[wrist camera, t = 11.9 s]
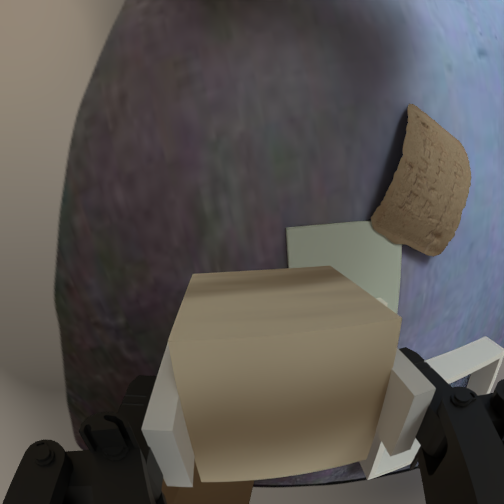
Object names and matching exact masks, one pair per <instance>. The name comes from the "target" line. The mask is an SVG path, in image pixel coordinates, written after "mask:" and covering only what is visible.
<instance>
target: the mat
mask: <svg viewBox="0 0 504 504" xmlns="http://www.w3.org/2000/svg"><path fill="white" fill-rule="evenodd" d="M286 240H287V256H288V268H302V267H316V266H331V267H333V268H334V269H336V270H337V271H338V272H340V273H341V274H343V275H344V276H345V277H347V278H348V279H350V280H351V281H352V282H354V283H355V284H357V285H358V286H359V287H361V288H362V289H363V290H365V291H366V292H368V293H369V294H370V295H372V296H373V297H374V298H382V299H383V300H384V301H385V302H387V303H388V304H387V307H388V308H389V309H391V310H392V311H393V312H395V313H396V314H397V311H398V301H399V289H400V276H401V256H402V244H395V243H392V242H391V241H390V240H388V239H387V238H386V237H385V236H384V235H382V234H380V233H378V232H377V231H375V230H374V229H373V226H372V221H371V220H368V221H355V222H343V223H331V224H320V225H308V226H297V227H287V228H286Z"/></svg>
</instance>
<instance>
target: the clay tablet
mask: <svg viewBox="0 0 504 504" xmlns="http://www.w3.org/2000/svg"><path fill="white" fill-rule="evenodd" d="M407 112H408V124H407V127H406V131H407V133H406V136H405V140H404V144H403V149H402V151H403V157H402V158H401V159H400V162H399V166H398V170H397V171H396V172H395V173H394V177H393V181H392V183H391V184H390V186H389V189H388V191H387V192H386V196H385V197H384V200H383V201H382V202H381V205H380V206H379V207H377V209H376V212H374V214H373V216H372V217H371V221H372V226H373V229H374V230H375V231H377V232H378V233H380V234H382V235H384V236H385V237H386V238H387V239H388V240H390V241H391V242H392V243H395V244H406V245H408V246H410V247H412V248H414V249H416V250H418V251H420V252H422V253H424V254H426V255H428V256H436V255H439V254H441V252H442V251H444V249H445V248H446V246H447V245H448V242H449V241H451V239H452V238H453V237H454V235H455V231H456V230H457V228H458V226H459V223H460V219H461V214H462V210H463V209H464V208H465V206H466V199H467V197H468V193H469V187H470V186H471V182H470V181H471V171H470V166H469V160H468V157H467V153H466V152H465V149H464V147H463V146H462V144H461V143H460V142H459V140H457V139H456V138H454V137H453V136H452V135H451V134H450V133H449V132H447V131H446V130H445V129H443V128H442V127H441V126H440V125H439V124H438V123H437V122H436V121H435V120H433V119H431V118H430V117H429V116H428V115H427V114H426V113H424V112H423V111H421V110H420V109H419V108H418V107H417V106H415V105H413V104H409V105H408V110H407Z"/></svg>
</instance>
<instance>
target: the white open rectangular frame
mask: <svg viewBox="0 0 504 504" xmlns="http://www.w3.org/2000/svg"><path fill="white" fill-rule="evenodd" d="M503 357H504V349H503V348H502V347H500V346H499V345H498V344H496V343H495V342H493V341H492V340H490V339H489V338H488V337H486V336H485V337H483V338H481V339H479V340H476V341H474V342H472V343H469V344H467V345H465V346H462V347H460V348H457V349H455V350H452V351H450V352H447V353H444V354H442V355H439V356H436V357H434V358H431V359H428V360H425V361H424V362H427V363H428V364H429V365H430V367H431V368H433V369H434V370H435V371H436V372H437V373H438V374H439V375H440V376H441V377H442V378H443V379H444V380H445V381H446V382H447V383H448V384H450V383H452V382H454V381H456V380H458V379H460V378H463V377H465V376H467V375H469V374H471V376H470V379H469V382H468V384H467V387H466V388H469V389H470V390H472V391H474V392H475V393H476V394H477V395H484V394H489V393H490V391H491V388H492V386H493V384H494V381H495V379H496V376H497V373H498V371H499V368H500V365H501V362H502V359H503ZM420 446H421V445H420V444H419V442H418V441H417V439H416V438H415V440H414V442H413V445H412V447H411V449H410V450H408V451H405V452H402V453H400V454H397V455H394V456H391V457H390V455H389V454H388V452H387V450H386V448H385V447H384V445H383V443H382V441H381V440H380V438H379V436H378V434H377V433H375V436H374V439H373V442H372V445H371V448H370V451H369V454H368V456H367V459H365V460H362V461H359V463H360V465H361V467H362V469H363V471H364V473H365V476H366V478H367V480H369V479H372V478H375V477H378V476H381V475H383V474H386V473H389V472H391V471H394V470H397V469H399V468H402V467H404V466H406V465H409V464H411V463H412V461H413V459H414V457H415V455H416V453H417V452H418V450H419V448H420Z"/></svg>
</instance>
